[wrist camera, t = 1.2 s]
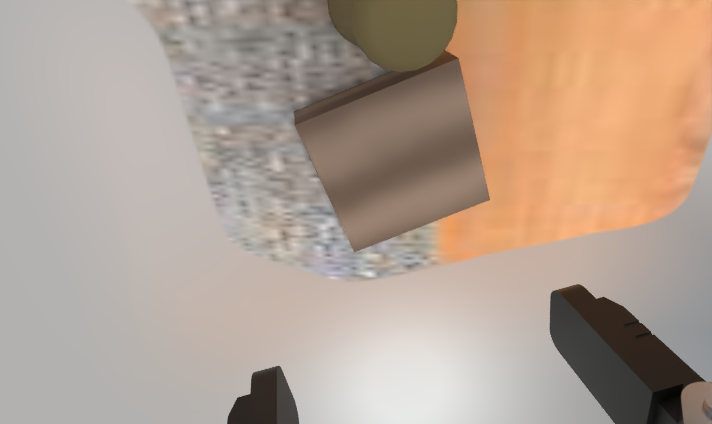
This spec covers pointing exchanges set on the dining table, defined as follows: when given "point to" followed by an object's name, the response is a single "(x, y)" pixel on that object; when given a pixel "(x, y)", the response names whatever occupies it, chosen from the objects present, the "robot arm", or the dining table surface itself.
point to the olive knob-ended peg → (396, 29)
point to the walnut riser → (396, 151)
